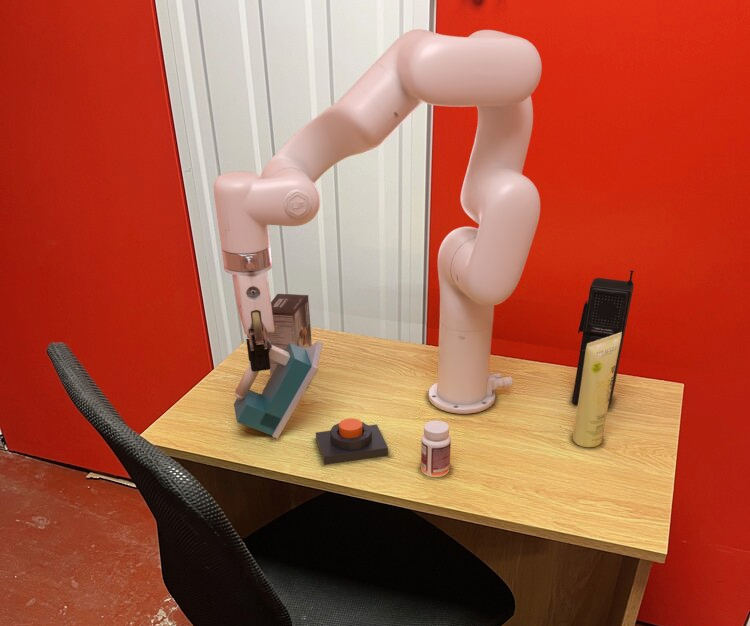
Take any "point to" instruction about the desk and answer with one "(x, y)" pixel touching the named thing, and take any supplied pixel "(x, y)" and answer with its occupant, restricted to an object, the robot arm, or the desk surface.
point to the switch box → (351, 445)
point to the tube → (595, 390)
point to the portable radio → (603, 320)
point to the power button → (350, 428)
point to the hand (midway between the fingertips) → (259, 364)
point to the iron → (277, 388)
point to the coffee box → (290, 323)
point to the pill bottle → (435, 449)
